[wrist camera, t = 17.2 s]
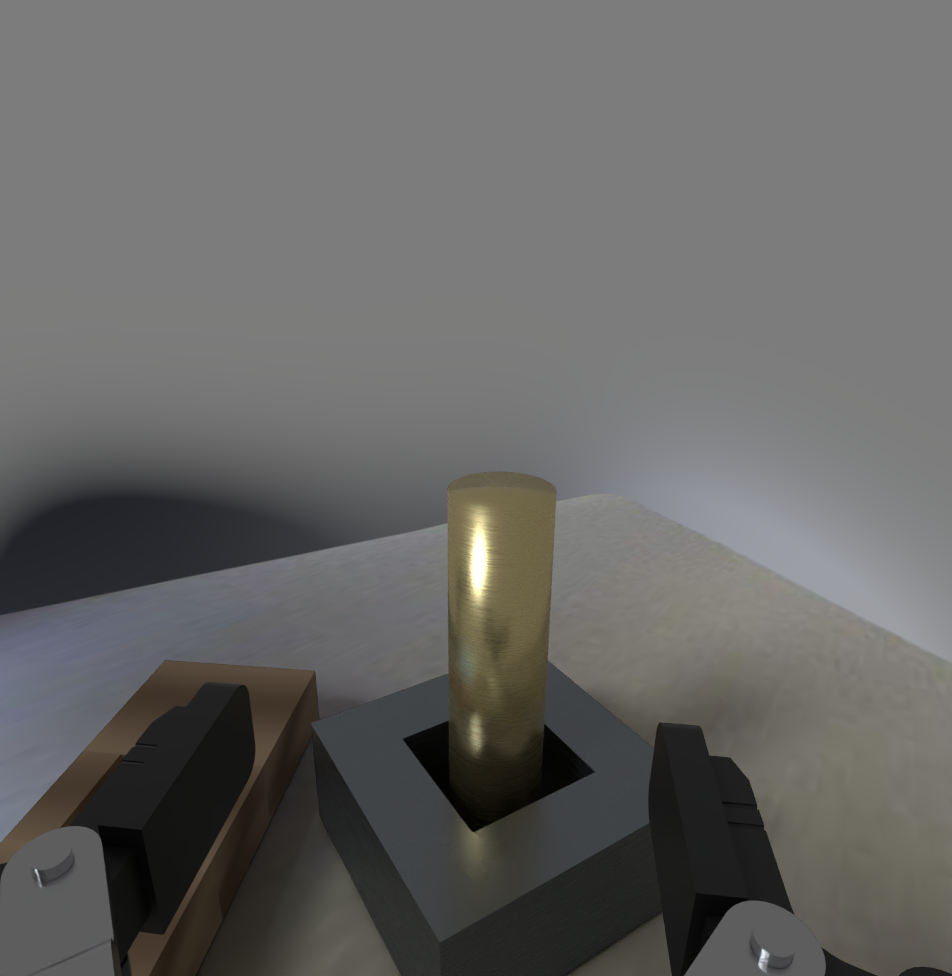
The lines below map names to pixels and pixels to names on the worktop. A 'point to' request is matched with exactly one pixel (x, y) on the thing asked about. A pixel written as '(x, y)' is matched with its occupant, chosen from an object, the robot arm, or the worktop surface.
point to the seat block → (490, 837)
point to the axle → (498, 640)
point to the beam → (279, 747)
